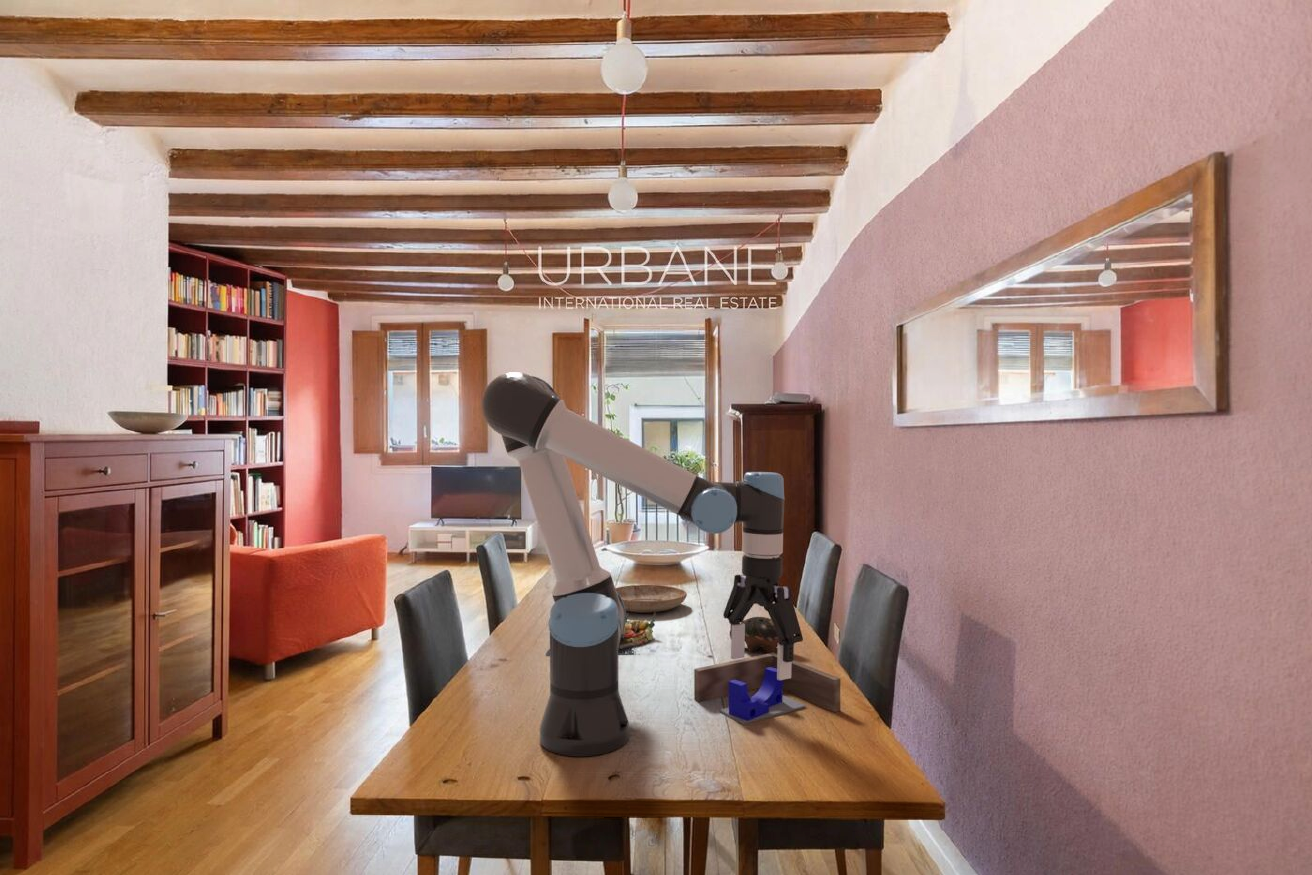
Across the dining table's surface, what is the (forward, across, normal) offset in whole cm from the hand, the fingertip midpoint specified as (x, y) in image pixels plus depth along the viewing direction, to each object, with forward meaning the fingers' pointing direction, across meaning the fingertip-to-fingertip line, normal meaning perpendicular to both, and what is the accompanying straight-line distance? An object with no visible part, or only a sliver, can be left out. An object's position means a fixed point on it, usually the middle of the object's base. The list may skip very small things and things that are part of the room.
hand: (759, 667), depth 138 cm
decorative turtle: (+8, +30, -25) cm, 39 cm away
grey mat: (+8, 0, -1) cm, 8 cm away
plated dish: (+10, +54, +3) cm, 55 cm away
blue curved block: (+8, -1, 0) cm, 8 cm away
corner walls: (+8, +1, -3) cm, 8 cm away
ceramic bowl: (+9, +80, -23) cm, 83 cm away
